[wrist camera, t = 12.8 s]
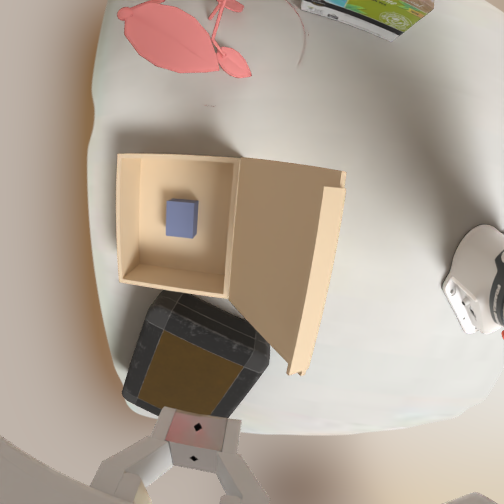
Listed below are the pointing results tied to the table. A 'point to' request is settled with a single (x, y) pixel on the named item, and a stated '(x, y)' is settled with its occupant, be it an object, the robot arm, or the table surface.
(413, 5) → the tea box
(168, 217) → the dark blue rectangular block
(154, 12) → the figurine
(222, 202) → the mailer box
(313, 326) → the lid
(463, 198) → the table surface
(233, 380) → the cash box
